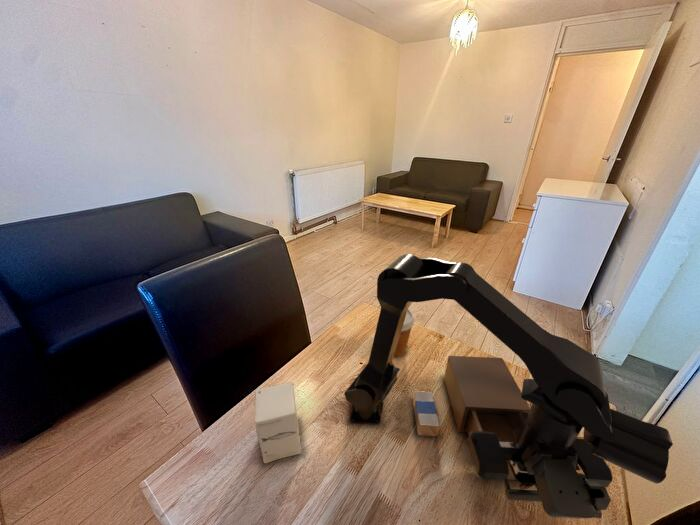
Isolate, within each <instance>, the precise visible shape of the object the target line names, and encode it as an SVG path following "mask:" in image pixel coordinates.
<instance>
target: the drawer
mask: <svg viewBox="0 0 700 525" xmlns="http://www.w3.org/2000/svg"><path fill="white" fill-rule="evenodd" d="M521 413H522V412H509V411H490V410H471V409H469V411H468V415H467V418H466V422H465V427H466V430H467V432H466V433H467V436H469V434H470V432H471V431H485V432H493V433H495V434H496V436H497V438H498V441H499V442H516V439H515V437H514V435H513V431H514V429H519V430H521V429H522V427H523V423H522V421H521V419H520V414H521ZM507 463H508V461H507ZM508 470H509V475H508V477H507V478H506V479H503V480H502V482H503V485H504V487H505V489H504V490H505V496H506V499H507V500H509V501H521V502H522V501H523V502H537V503H542V500H541V497H540V493H539V490H538V487H537V484H536V485H534V486H535V489H536V490H534V489H533V490H532V489H520V488H519V489H518V488H511V485H510V482H509V480H516V479H515V478H514V476H513V474H512V471H511V469H510V466H509V464H508ZM474 472H475V476H476V478H480V477H479V476H478V475H477V471H476V468H475V467H474ZM516 481H517V480H516Z"/></svg>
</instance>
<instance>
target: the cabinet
mask: <svg viewBox="0 0 700 525" xmlns="http://www.w3.org/2000/svg"><path fill="white" fill-rule="evenodd" d="M443 381H444V385H445V389H446V393H447V395H448V399H449V402H450V407H451V409H452V412H453V417H454V420H455V424H456V428H457V430H458V432H459V433H467V430H466V427H465V422H466V418H467V415H468V411H469V409H471V410H490V411H509V412H522V413H529V411H530V408H531V406H530V405H529V403H528V401H526V400H524V399H522V397H521V394H522V390H521V389H520V387H519V385H518V384H517V382H516V380H515V378H514V376H513V374H512V373H511V371H510V369H509V367H508V365H507V364H506V362H505V360H504V358H503V357H491V356H489V357H488V356H487V357H486V356H468V355H467V356H464V355H448V356H447V361H446V366H445V372H444V375H443Z"/></svg>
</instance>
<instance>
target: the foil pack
mask: <svg viewBox="0 0 700 525" xmlns="http://www.w3.org/2000/svg"><path fill="white" fill-rule="evenodd" d="M412 405H413V412H414V420H415V425H416V432H417V436H427V437H438V434H439V431H440V422H439V417H438V412H437V407H436V402H435V399H434V396H433V392H432V391H421V390H419V391H418V390H414V391H413V397H412Z"/></svg>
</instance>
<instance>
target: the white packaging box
mask: <svg viewBox="0 0 700 525" xmlns="http://www.w3.org/2000/svg"><path fill="white" fill-rule="evenodd" d="M295 394H296V393H295V387H294V381H289V382H283V383H280V384H276V385H271V386H266V387H261V388H256V389H255V390H254V425H255V429H256V435H257V438H258V444H259V447H260V452H261V456H262V457H261V458H262V460H263V464H267V463H268V464H269V463H271V462H273V461H277V460H281V459H285V458H289V457H292V456H296V455H299V454H302V446H301V439H300V438H301V437H300V428H299V420H298V412H297V405H296V404H297V402H296V395H295Z"/></svg>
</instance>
